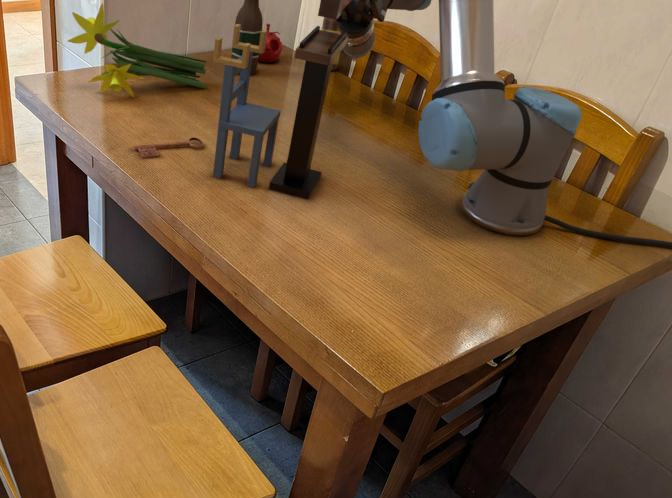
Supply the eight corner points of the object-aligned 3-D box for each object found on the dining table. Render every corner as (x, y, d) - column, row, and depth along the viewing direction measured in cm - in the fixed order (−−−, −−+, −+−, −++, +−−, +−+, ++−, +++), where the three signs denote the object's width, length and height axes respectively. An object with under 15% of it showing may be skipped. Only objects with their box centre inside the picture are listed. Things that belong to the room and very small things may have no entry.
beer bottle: (251, 65, 180) (264, -33, 164) (261, 75, 174) (275, -25, 158) (224, 66, 177) (235, -34, 162) (234, 76, 172) (246, -26, 156)
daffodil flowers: (218, 104, 158) (86, 75, 138) (185, 115, 170) (59, 91, 150) (219, 31, 156) (85, -8, 136) (186, 48, 168) (58, 15, 148)
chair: (222, 151, 136) (237, 23, 119) (271, 164, 134) (293, 35, 117) (201, 174, 127) (214, 39, 111) (254, 188, 125) (275, 52, 108)
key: (139, 159, 130) (208, 153, 135) (139, 155, 129) (209, 149, 134) (131, 145, 134) (198, 139, 139) (131, 140, 133) (199, 135, 138)
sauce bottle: (341, 70, 184) (358, -7, 171) (325, 72, 181) (341, -6, 168) (326, 63, 188) (341, -14, 175) (309, 65, 185) (324, -13, 172)
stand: (285, 165, 134) (311, 23, 116) (322, 174, 132) (355, 31, 114) (265, 193, 124) (290, 42, 106) (305, 204, 122) (338, 52, 104)
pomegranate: (241, 60, 182) (246, 25, 176) (250, 51, 189) (255, 16, 183) (275, 67, 180) (281, 31, 174) (283, 57, 188) (288, 23, 182)
